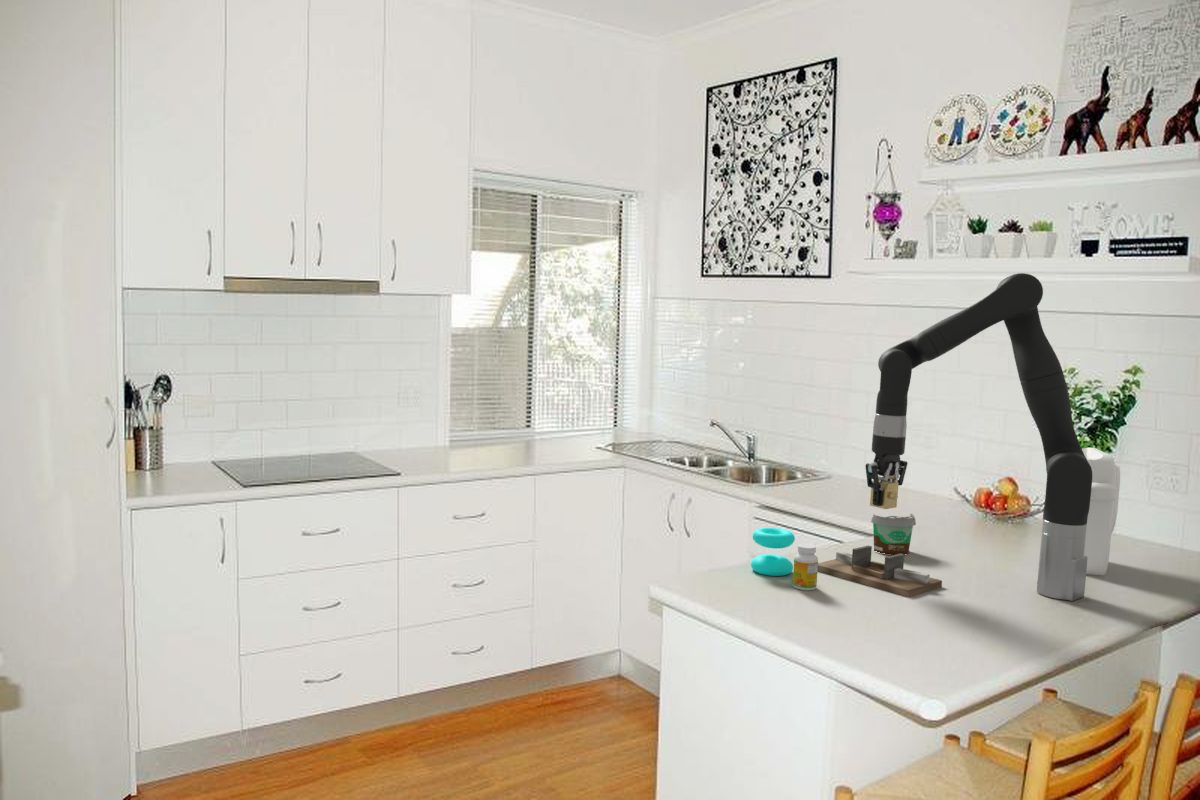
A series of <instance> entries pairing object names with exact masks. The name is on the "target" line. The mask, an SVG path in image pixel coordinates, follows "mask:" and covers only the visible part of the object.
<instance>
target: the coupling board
mask: <svg viewBox="0 0 1200 800" xmlns="http://www.w3.org/2000/svg"><path fill="white" fill-rule="evenodd" d="M872 548H873V547H872V545H863V546H860V547H855V548H852V551H851V552H852V554H851V553H849V552H845V551H843V550H842V551H841V550H840V551H836V554H835V559H831V560H827V561H822V562H818V571H817V572H820V573H823V574H826V575H829V576H834V577H837V578H840V579H843V580H848V581H851V582H855V583H859V584H862V585H865V586H868V587H872V588H876V589H880V590H883V591H886V592H890V593H893V594H897V595H900V596H905V597H907V598H909V597H912V596H915V595H919V594H923V593H926V592H929V591H933V590H937V589H939V588H942V587H943V586H942V585H943V580H941V579H938V578H934V577H930V573H926V572H921V571H915V570H910V569H904V566H905V565H904V562H905V555H904V554H901V553H900V554H896V555H887V556H885V557H884V563H881V562H879V561H874V560H872V551H873V550H872Z"/></svg>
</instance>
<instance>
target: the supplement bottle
mask: <svg viewBox="0 0 1200 800" xmlns="http://www.w3.org/2000/svg"><path fill="white" fill-rule="evenodd" d="M816 551H817V549H816V545H814V544H811V543H799V544H797V553H796V554H795V555H794V558H793V570H792V571H793V573H792V574H793V575H792V587H793V588H794V589H797V590H801V591H813V590H816V589H817V584H818V583H817V582H818V572H819V571H818V563H819V557H818V556H817V555H816V554H815V553H816Z"/></svg>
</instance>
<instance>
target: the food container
mask: <svg viewBox="0 0 1200 800" xmlns="http://www.w3.org/2000/svg"><path fill="white" fill-rule="evenodd" d="M870 523H872V525H873V526H872V527H873V530H872V531H873V552H874V551H877V552H880V553H885V554H891V555H890V556H892V555H896V554H900V553H901V554H904V556H906V555H905V554H907V555H909V552H910V545H911V540H912V534H913V528H914V526H916V525H917V523H916V518H915V515H914V514H913V513H910V515H909V516H897V515H890V516H881V515H880V516H879V515H876V514H873V515H872V517H871V519H870ZM877 552H876V553H877ZM880 553H879V554H880ZM885 554H884V555H885Z"/></svg>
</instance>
